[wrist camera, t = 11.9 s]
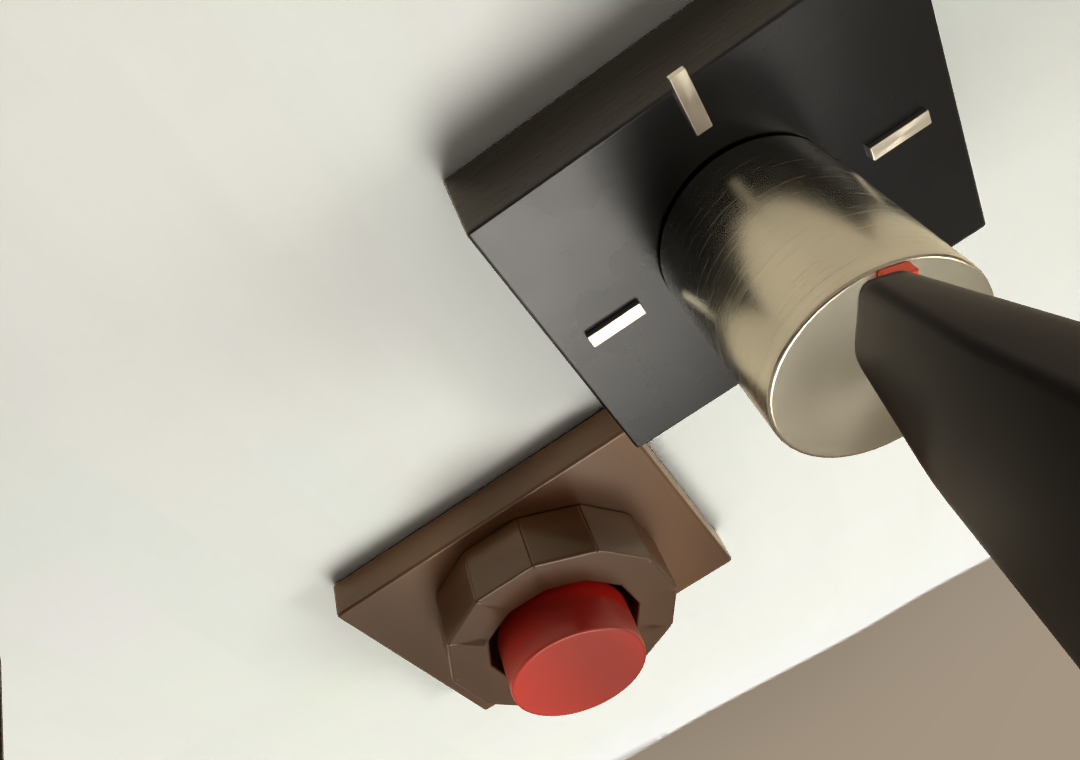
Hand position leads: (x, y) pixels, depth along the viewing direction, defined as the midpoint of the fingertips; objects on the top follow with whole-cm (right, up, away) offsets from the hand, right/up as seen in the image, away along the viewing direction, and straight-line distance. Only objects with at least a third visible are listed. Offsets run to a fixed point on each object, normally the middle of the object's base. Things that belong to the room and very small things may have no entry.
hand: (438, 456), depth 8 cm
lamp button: (+2, -6, +18) cm, 19 cm away
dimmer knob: (+6, +4, +11) cm, 13 cm away
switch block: (+1, -5, +19) cm, 20 cm away
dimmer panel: (+5, +6, +13) cm, 15 cm away
